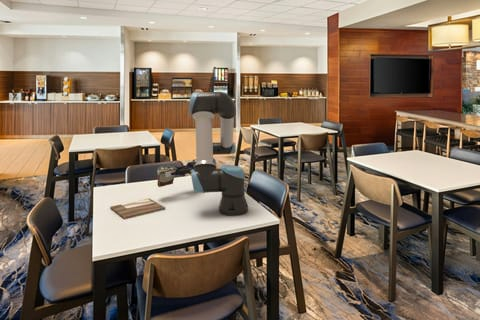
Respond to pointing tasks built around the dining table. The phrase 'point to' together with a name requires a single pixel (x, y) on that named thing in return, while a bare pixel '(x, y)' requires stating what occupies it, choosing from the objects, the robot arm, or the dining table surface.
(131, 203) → the board
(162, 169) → the food container
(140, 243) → the dining table surface
